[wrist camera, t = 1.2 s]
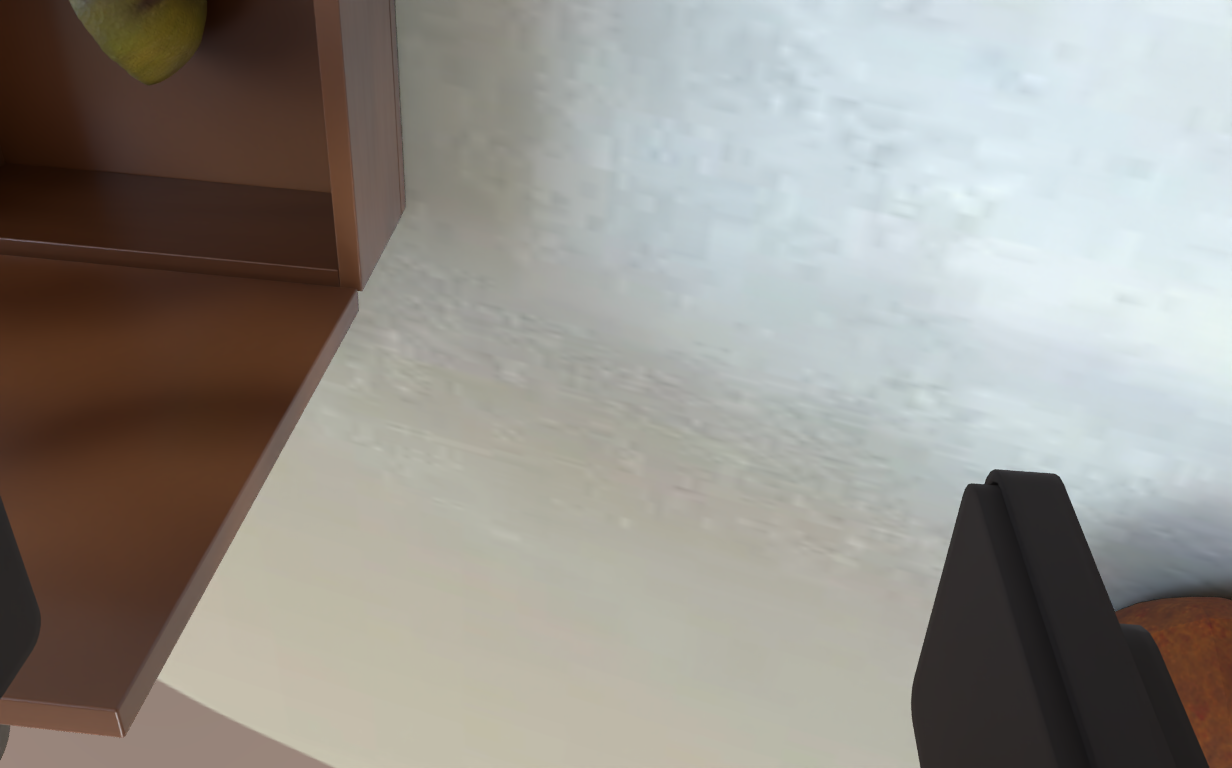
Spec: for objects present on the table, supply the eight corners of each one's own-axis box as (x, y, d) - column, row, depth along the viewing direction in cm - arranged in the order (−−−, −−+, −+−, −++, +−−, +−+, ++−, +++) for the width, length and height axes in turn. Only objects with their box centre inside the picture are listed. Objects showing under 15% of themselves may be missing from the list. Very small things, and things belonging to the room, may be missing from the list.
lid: (-634, 627, 21) (-501, 801, 24) (117, 710, 21) (162, 878, 24) (-107, 243, 35) (-62, 384, 38) (357, 288, 34) (367, 428, 37)
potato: (1033, 572, 47) (1078, 722, 41) (1321, 537, 45) (1414, 689, 38) (1045, 706, 51) (1087, 859, 45) (1307, 680, 49) (1388, 837, 43)
